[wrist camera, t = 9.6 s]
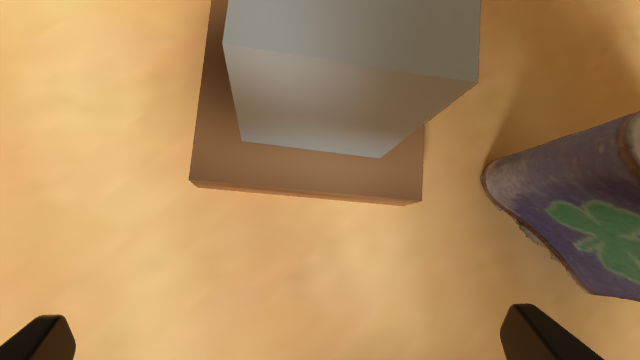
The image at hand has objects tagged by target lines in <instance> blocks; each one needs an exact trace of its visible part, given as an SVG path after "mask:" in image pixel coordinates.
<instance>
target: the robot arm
mask: <svg viewBox="0 0 640 360" xmlns="http://www.w3.org/2000/svg"><path fill="white" fill-rule="evenodd" d="M500 338H501V342H502V345H503V349H504V352H505V355H506V359H507V360H604V359H603V358H601V357H600V356H599V355H598V354H596V353H595V352H594V351H593V350H591V349H590V348H589V347H587V346H586V345H585V344H584V343H582V342H581V341H580V340H578V339H577V338H576V337H575V336H573V335H572V334H571V333H569V332H568V331H567V330H566V329H564V328H563V327H562V326H560V325H559V324H558V323H557V322H555V321H554V320H553V319H551V318H550V317H549V316H548V315H546V314H545V313H544V312H542V311H541V310H540V309H539V308H537V307H536V306H534V305H532V304H513V305H512V306H510V308H509V310H508V312H507V315H506V317H505V319H504V321H503V324H502V326H501V329H500ZM75 349H76V343H75V339H74V337H73V334H72V332H71V330H70V327H69V325H68V323H67V321H66V319H65V317H64V316H62V315H41V316H39V317H37V318H35V319H34V320H32V321H31V322H30V323H29V324H27V325H26V326H25V327H24V328H22V329H21V330H20V331H19V332H17V333H16V334H15V335H14V336H12V337H11V338H10V339H9V340H7V341H6V342H5V343H4V344H2V345H1V346H0V360H73V358H74V354H75Z"/></svg>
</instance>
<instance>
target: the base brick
mask: <svg viewBox="0 0 640 360" xmlns="http://www.w3.org/2000/svg"><path fill="white" fill-rule="evenodd" d="M228 1H229V0H212V1H211V8H210V16H209V24H208V32H207V40H206V48H205V56H204V64H203V71H202V79H201V87H200V95H199V103H198V111H197V119H196V126H195V134H194V142H193V150H192V158H191V166H190V174H189V180H190V181H191V182H192V183H193V184H194V185H196V186H197V187H198V188H208V189H219V190H230V191H241V192H252V193H263V194H274V195H286V196H297V197H308V198H319V199H330V200H341V201H352V202H364V203H375V204H386V205H397V206H405V205H409V204H413V203H417V202H420V201H422V181H423V152H424V125H423V126H421V127H420V128H419V129H417V130H416V131H415V132H413V133H412V134H411V135H410V136H408V137H407V138H406V139H404V140H403V141H402V142H400V143H399V144H398V145H397V146H395V147H394V148H393V149H391V150H390V151H389V152H387V153H386V154H385V155H383V156H382V157H381V158H380V159H379V158H371V157H363V156H355V155H347V154H340V153H332V152H324V151H316V150H308V149H300V148H292V147H284V146H277V145H269V144H261V143H253V142H245V141H242V140H241V135H240V130H239V125H238V120H237V115H236V110H235V105H234V100H233V95H232V90H231V85H230V80H229V75H228V70H227V65H226V60H225V55H224V50H223V45H222V41H223V35H224V28H225V21H226V14H227V8H228Z"/></svg>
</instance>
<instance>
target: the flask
mask: <svg viewBox="0 0 640 360" xmlns="http://www.w3.org/2000/svg"><path fill="white" fill-rule="evenodd" d="M480 181H481V183H482V185H483V188H484V190H485V191H486V193H487V195H488V197H489V199H490V200H491V201H492V202H493V203H494V205H495V207H497V208H498V209H499V210H500V211H501V210H502V209H503V210H505V212H507V213H508V214H509V215H510V216H511V217H512V218H513V219H514V220H515V221H516V223H517V224H518V225H520V229H521V230H522V231H523V232H525V234H526V237H528V238H530V239H532V241H533V242H534V243H537V244H539V243H540V245H541V246H544V247H547V248H548V249H549V250H550V252H551V253H552V257H551V259H555V260H557V261H559V262H561V263H562V264H563V265H564V266H565V268H566V270H567V272H568V275H570V276H571V277H572V278H573V279H574V280H576V282H577V284H578V285H579V286H580V287H581V288H582V289H583V291H584V292H586V293H589V294H593V295H600V296H610V297H618V298H621V299H629V300H634V301H638V302H640V111H639V112H637V113H634V114H630V115H626V116H624V117H621V118H618V119H616V120H613V121H610V122H608V123H605V124H602V125H599V126H596V127H593V128H591V129H588V130H585V131H582V132H579V133H575V134H572V135H569V136H565V137H562V138H559V139H556V140H553V141H551V142H548V143H546V144H544V145H541V146H538V147H534V148H532V149H529V150H526V151H523V152H520V153H517V154H514V155H510V156H507V157H502V158H498V159H496V160H494V161H493V162H492V163H491V164H490V165H488V166H487V167H486V168H485V170H484V173H483V175H482V176H481V178H480Z"/></svg>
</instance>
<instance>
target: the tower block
mask: <svg viewBox="0 0 640 360" xmlns="http://www.w3.org/2000/svg"><path fill="white" fill-rule="evenodd" d="M480 10H481V0H229V1H228V8H227V14H226V21H225V28H224V35H223V41H222V45H223V50H224V55H225V60H226V65H227V70H228V75H229V80H230V85H231V90H232V95H233V100H234V105H235V110H236V115H237V120H238V125H239V130H240V135H241V140H242V141H245V142H253V143H261V144H269V145H277V146H284V147H292V148H300V149H308V150H316V151H324V152H332V153H340V154H347V155H355V156H363V157H371V158H379V159H380V158H381V157H382V156H383V155H385V154H386V153H387V152H389V151H390V150H391V149H393V148H394V147H395V146H397V145H398V144H399V143H400V142H402V141H403V140H404V139H406V138H407V137H408V136H410V135H411V134H412V133H413V132H415V131H416V130H417V129H419V128H420V127H421V126H423V125H424V124H425V123H426V122H428V121H429V120H430V119H432V118H433V117H434V116H436V115H437V114H438V113H440V112H441V111H442V110H443V109H445V108H446V107H447V106H449V105H450V104H451V103H453V102H454V101H455V100H456V99H458V98H459V97H460V96H462V95H463V94H464V93H466V92H467V91H468V90H470V89H471V88H472V87H473V86H475V85H476V84H477V83H478V75H479V42H480Z"/></svg>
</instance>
